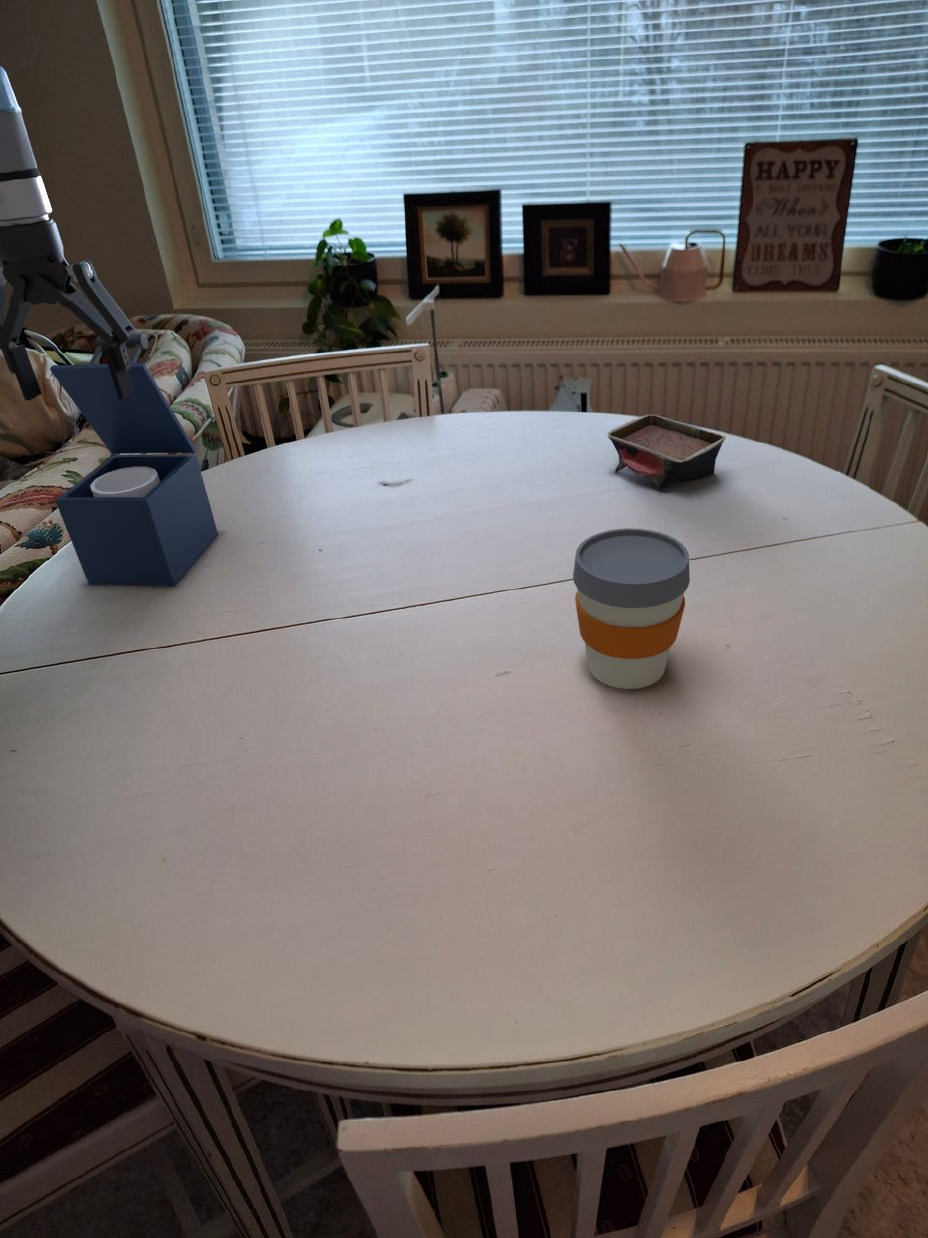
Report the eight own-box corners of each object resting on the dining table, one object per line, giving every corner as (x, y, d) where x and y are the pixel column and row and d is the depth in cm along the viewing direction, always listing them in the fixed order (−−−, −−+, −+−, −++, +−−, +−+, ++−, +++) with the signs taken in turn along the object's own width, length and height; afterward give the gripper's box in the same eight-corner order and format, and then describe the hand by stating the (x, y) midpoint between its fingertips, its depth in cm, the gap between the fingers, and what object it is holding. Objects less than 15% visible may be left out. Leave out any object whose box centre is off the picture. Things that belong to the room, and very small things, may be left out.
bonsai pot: (664, 512, 130) (679, 457, 123) (592, 464, 141) (602, 410, 134) (724, 492, 136) (741, 438, 130) (651, 447, 147) (664, 396, 141)
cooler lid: (142, 366, 108) (161, 322, 113) (49, 369, 111) (72, 326, 115) (194, 452, 122) (210, 411, 127) (111, 453, 125) (129, 412, 129)
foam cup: (192, 543, 127) (169, 466, 119) (163, 573, 119) (136, 494, 112) (138, 541, 129) (112, 466, 121) (106, 571, 121) (76, 493, 114)
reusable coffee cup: (551, 673, 94) (550, 563, 86) (608, 623, 102) (612, 517, 94) (646, 714, 87) (654, 598, 79) (700, 656, 95) (712, 545, 87)
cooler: (174, 586, 118) (146, 500, 110) (88, 584, 120) (54, 500, 112) (218, 534, 131) (196, 453, 123) (139, 533, 133) (112, 454, 125)
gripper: (-96, 230, 94) (-22, 406, 106) (99, 220, 90) (152, 405, 102) (-52, 220, 100) (13, 388, 112) (132, 210, 96) (179, 385, 108)
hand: (79, 396), depth 107 cm, fingers open, 13 cm apart
